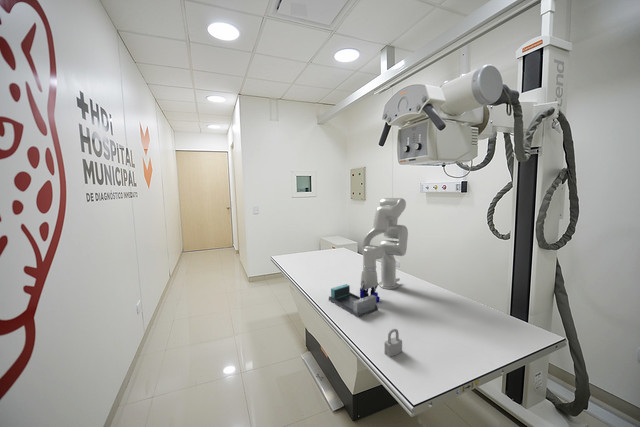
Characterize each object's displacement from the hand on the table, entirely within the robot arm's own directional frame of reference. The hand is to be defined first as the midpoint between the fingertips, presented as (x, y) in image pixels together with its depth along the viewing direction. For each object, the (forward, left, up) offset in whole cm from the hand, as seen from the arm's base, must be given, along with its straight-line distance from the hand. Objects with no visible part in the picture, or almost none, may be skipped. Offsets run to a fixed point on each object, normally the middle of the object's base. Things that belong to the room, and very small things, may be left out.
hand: (369, 297), depth 158 cm
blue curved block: (0, 0, -1) cm, 1 cm away
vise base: (+13, -1, -1) cm, 13 cm away
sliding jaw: (+13, -11, +1) cm, 18 cm away
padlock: (+28, +43, -1) cm, 51 cm away
